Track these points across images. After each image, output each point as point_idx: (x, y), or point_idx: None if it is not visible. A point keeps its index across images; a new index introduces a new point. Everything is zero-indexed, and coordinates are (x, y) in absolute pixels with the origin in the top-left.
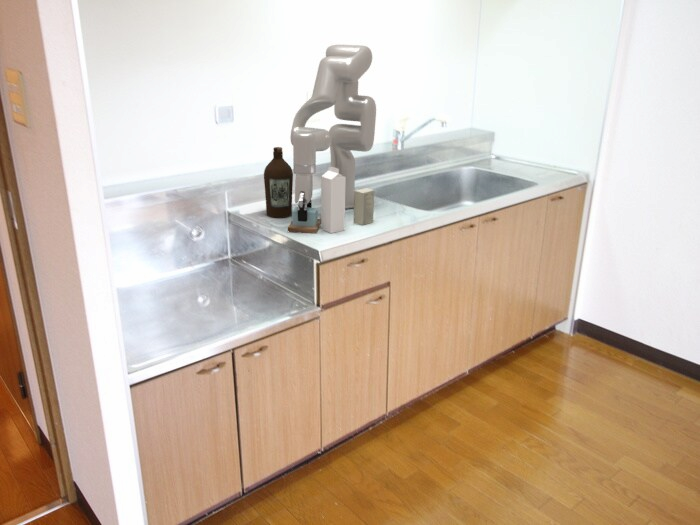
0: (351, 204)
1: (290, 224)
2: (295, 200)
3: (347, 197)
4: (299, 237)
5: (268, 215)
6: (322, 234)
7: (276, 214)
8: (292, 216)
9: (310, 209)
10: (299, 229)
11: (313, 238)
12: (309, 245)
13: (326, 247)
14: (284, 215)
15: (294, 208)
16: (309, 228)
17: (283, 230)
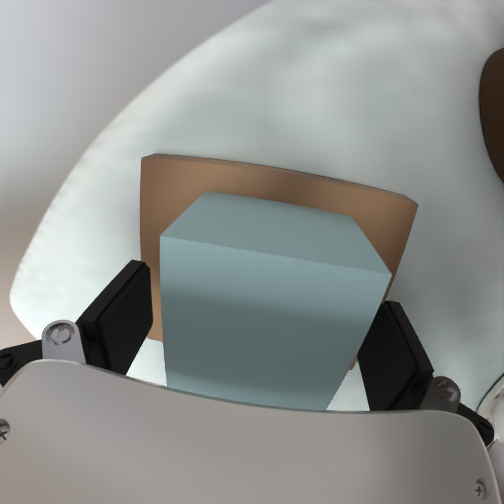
0: (489, 416)
1: (231, 173)
2: (10, 381)
3: (501, 429)
4: (80, 235)
5: (500, 49)
6: (150, 344)
7: (493, 87)
8: (181, 216)
9: (263, 401)
10: (144, 242)
11: (86, 300)
12: (20, 275)
13: (30, 327)
14: (493, 143)
15: (312, 264)
16: (153, 305)
17: (191, 118)
